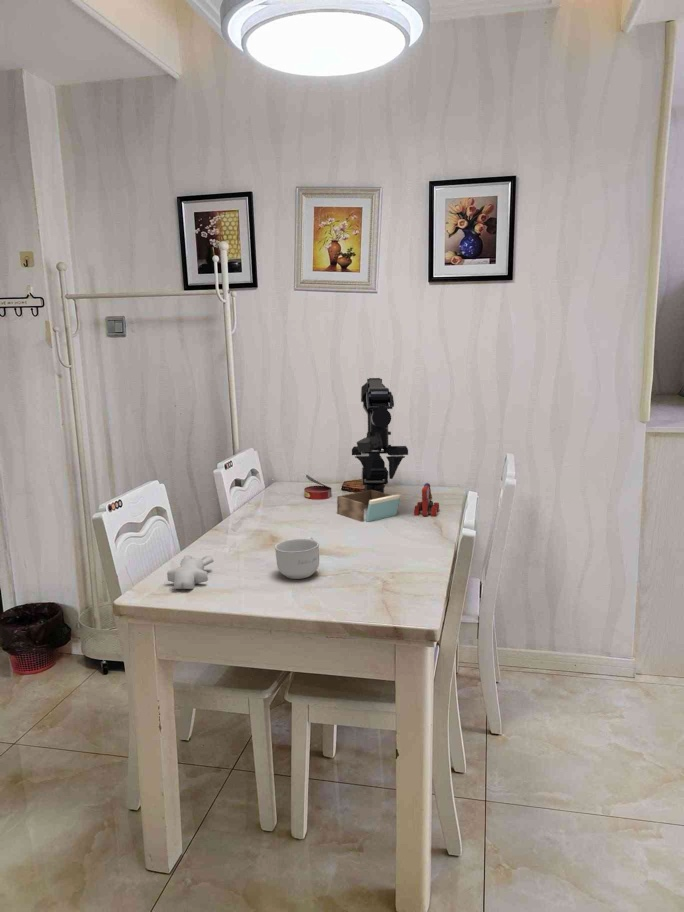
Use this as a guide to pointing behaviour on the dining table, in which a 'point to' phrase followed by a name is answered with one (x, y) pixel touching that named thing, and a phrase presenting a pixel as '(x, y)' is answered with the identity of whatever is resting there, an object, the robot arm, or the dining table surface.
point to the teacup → (297, 557)
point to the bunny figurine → (189, 572)
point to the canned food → (317, 491)
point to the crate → (356, 503)
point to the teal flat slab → (382, 507)
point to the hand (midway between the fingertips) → (379, 478)
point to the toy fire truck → (426, 503)
